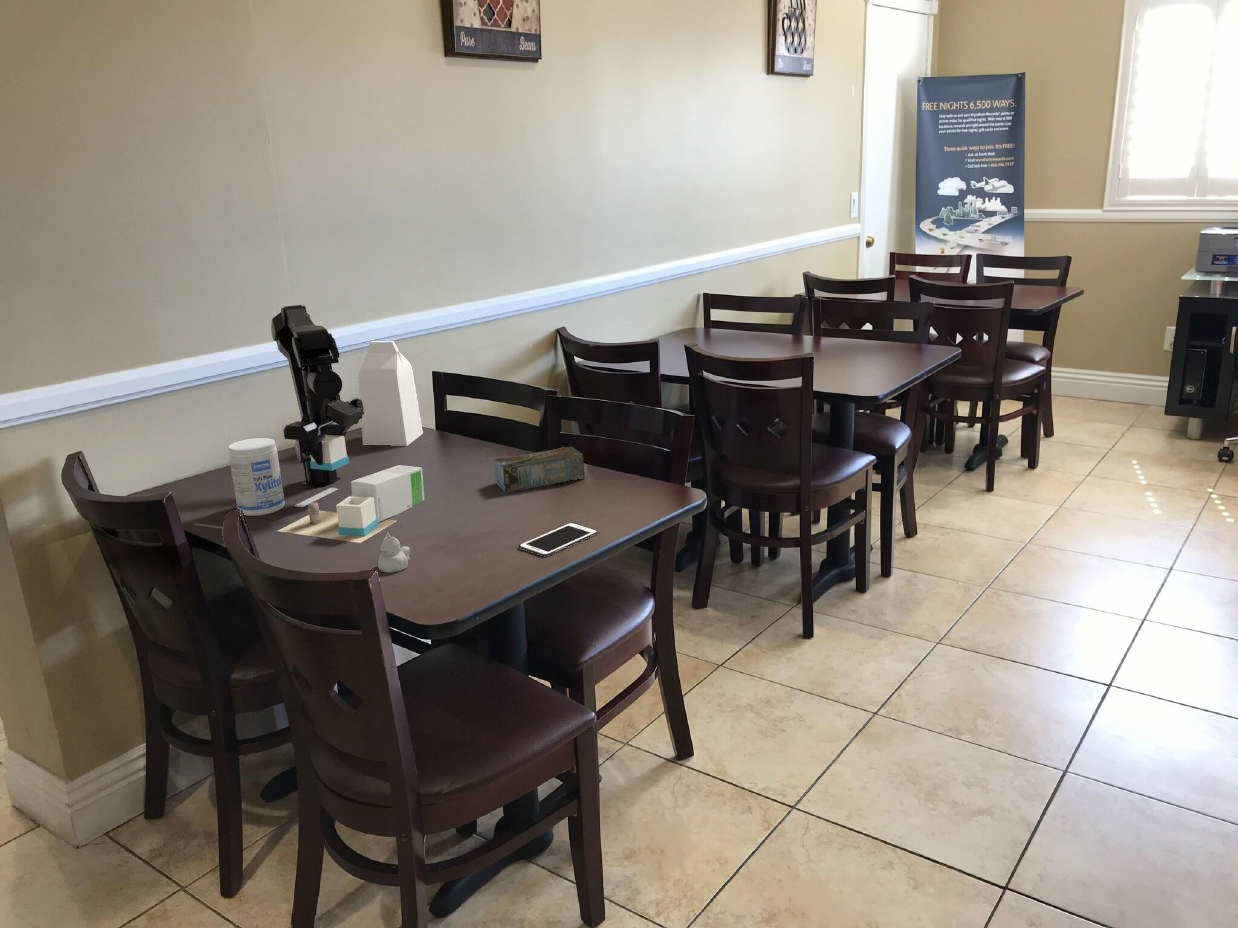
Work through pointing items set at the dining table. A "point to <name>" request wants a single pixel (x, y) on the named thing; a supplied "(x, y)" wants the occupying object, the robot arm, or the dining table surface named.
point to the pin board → (327, 526)
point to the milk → (388, 397)
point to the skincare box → (391, 489)
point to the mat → (316, 497)
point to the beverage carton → (539, 469)
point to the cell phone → (558, 539)
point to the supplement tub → (256, 476)
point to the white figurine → (393, 555)
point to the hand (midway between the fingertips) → (329, 460)
